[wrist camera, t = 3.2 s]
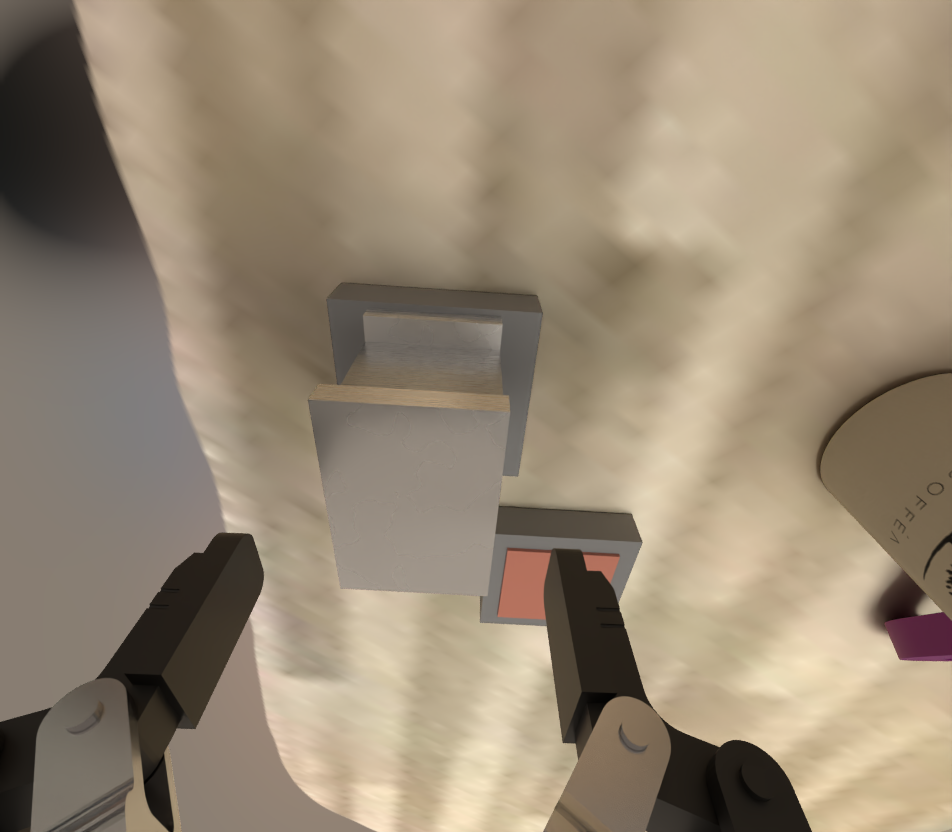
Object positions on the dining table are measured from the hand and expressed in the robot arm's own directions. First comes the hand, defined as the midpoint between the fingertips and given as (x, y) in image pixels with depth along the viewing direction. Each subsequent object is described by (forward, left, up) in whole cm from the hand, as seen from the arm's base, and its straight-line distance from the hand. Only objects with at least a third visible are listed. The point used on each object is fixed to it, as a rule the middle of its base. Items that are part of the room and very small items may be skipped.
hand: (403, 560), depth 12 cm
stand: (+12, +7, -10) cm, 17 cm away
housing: (0, 0, -8) cm, 8 cm away
